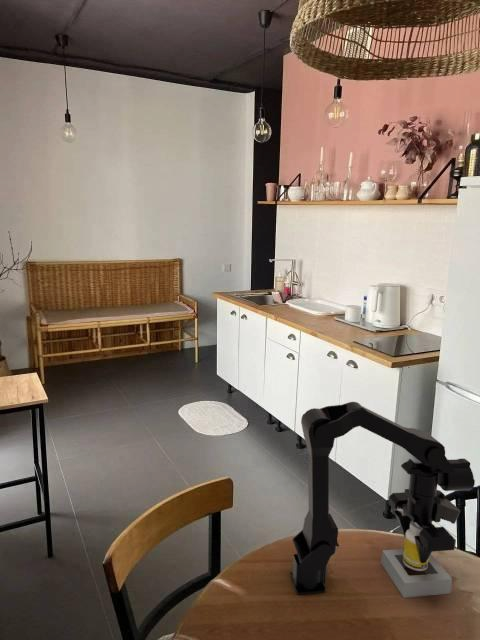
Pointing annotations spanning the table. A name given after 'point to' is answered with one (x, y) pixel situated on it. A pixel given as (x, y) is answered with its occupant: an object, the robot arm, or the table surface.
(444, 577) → the well
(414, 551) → the supplement bottle
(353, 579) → the table surface
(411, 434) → the robot arm
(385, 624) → the table surface
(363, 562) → the table surface
